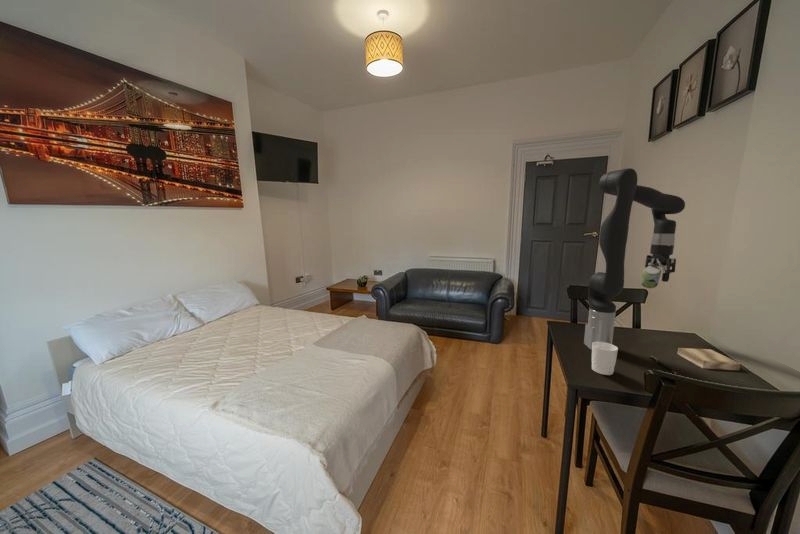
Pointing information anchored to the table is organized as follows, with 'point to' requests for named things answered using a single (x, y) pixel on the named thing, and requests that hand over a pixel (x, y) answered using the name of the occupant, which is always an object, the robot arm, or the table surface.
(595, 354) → the white cup
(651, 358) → the fountain pen
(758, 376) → the table surface
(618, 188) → the robot arm
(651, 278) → the beverage can
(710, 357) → the base
